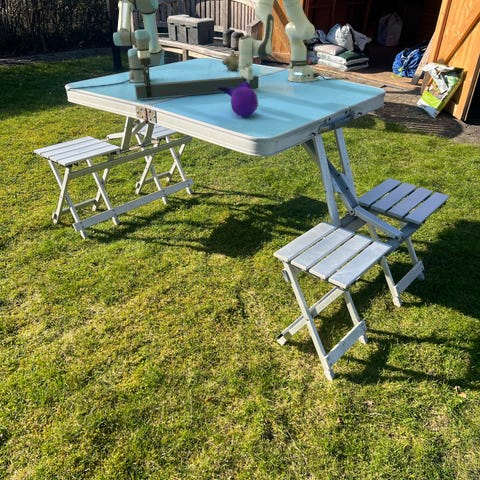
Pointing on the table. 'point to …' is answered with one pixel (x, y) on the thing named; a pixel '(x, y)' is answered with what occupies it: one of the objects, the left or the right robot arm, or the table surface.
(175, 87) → the bar
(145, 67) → the left robot arm
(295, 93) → the table surface
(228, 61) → the teapot
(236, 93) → the toy
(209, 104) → the table surface
